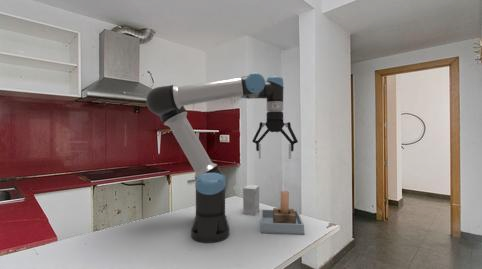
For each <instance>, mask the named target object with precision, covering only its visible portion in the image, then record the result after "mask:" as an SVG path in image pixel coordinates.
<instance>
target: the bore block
mask: <svg viewBox="0 0 482 269" xmlns="http://www.w3.org/2000/svg"><path fill="white" fill-rule="evenodd" d="M272 210H273V222H274V223H287V224H296V214H295V212H294V211H295V209H294V208H289V211H288V214H281V213H280V207H279V208H277V207H273V208H272Z"/></svg>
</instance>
